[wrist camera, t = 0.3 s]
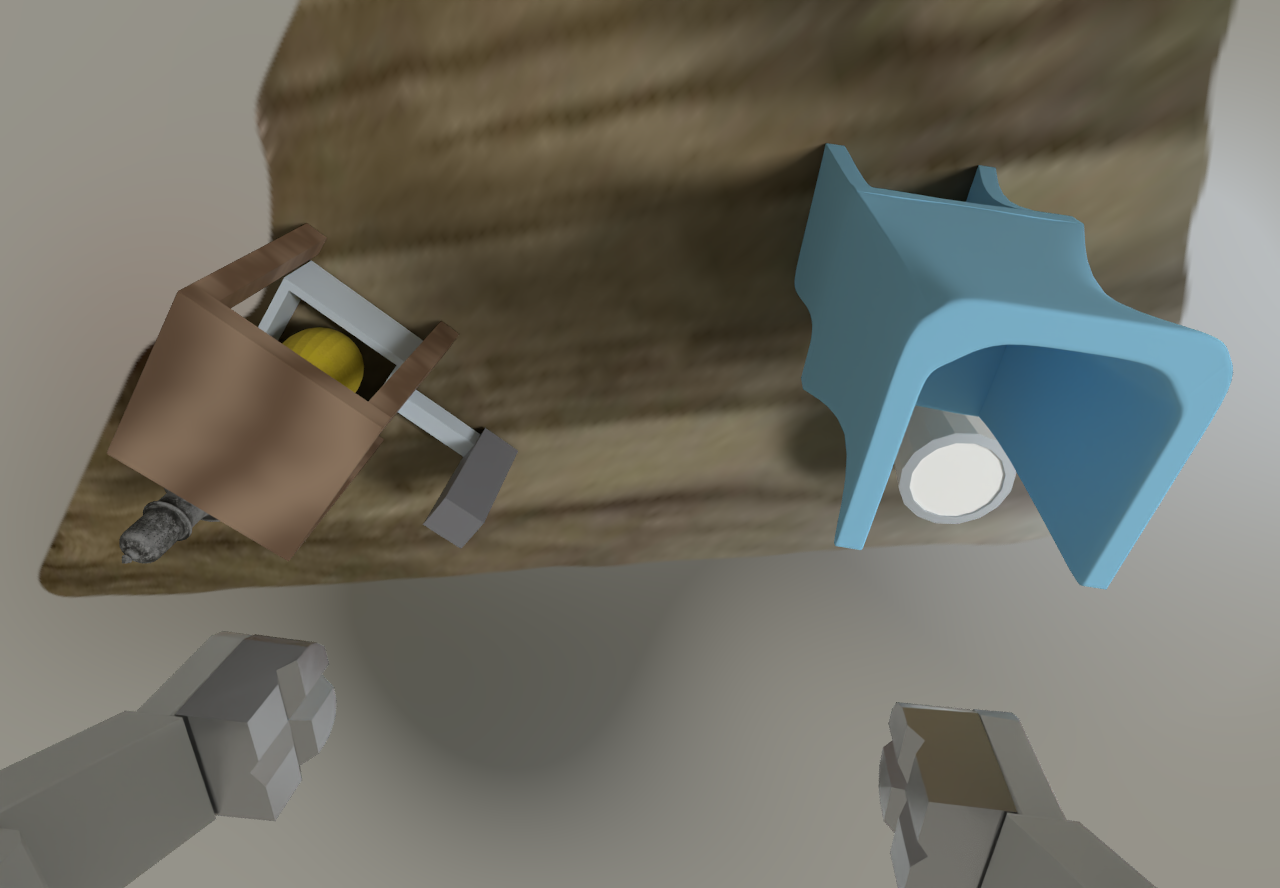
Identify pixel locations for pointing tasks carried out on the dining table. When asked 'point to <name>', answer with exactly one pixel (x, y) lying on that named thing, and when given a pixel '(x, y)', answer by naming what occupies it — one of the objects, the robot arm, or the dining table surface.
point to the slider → (481, 453)
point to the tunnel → (255, 408)
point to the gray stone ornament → (160, 528)
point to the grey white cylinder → (951, 467)
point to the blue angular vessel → (997, 356)
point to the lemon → (330, 354)
